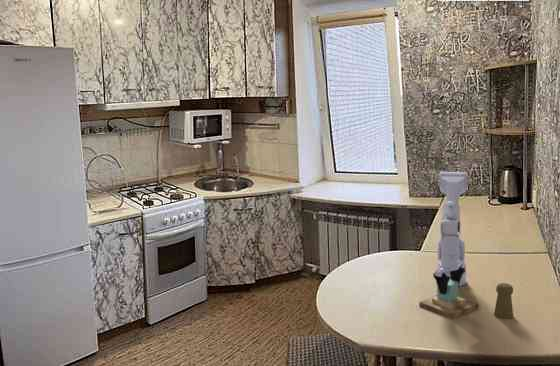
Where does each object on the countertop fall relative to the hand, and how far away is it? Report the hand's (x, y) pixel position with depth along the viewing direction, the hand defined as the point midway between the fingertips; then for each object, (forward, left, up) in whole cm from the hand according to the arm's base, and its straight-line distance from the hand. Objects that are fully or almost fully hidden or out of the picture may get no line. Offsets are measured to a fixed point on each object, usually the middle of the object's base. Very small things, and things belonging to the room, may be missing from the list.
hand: (448, 290), depth 188 cm
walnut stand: (0, 0, -6) cm, 6 cm away
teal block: (0, 0, -3) cm, 3 cm away
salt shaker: (-8, +16, -6) cm, 19 cm away
